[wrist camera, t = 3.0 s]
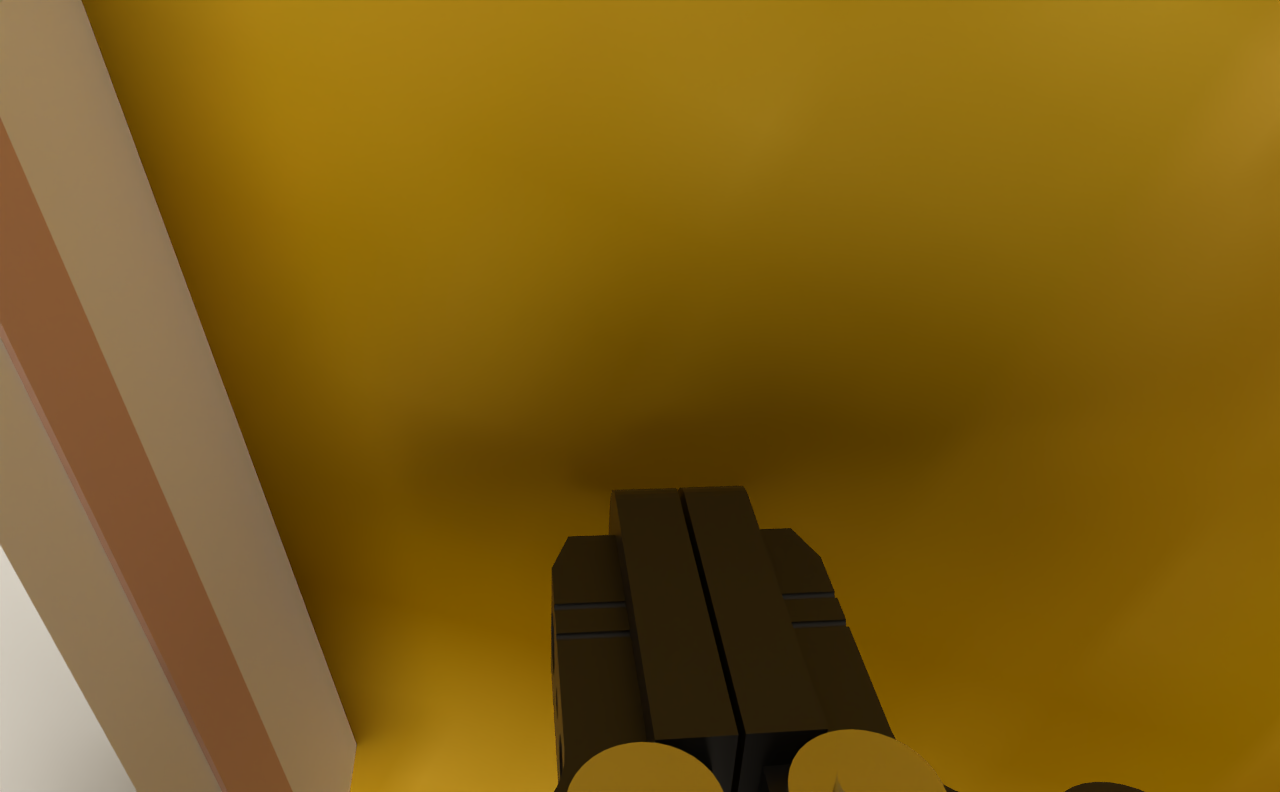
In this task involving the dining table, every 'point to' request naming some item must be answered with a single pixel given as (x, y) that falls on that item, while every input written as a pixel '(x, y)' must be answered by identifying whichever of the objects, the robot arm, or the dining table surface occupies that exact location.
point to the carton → (128, 479)
